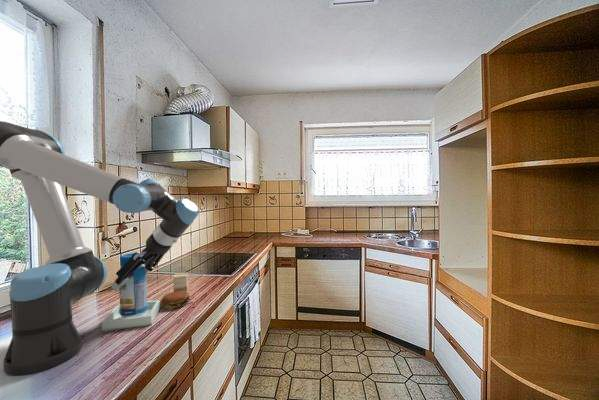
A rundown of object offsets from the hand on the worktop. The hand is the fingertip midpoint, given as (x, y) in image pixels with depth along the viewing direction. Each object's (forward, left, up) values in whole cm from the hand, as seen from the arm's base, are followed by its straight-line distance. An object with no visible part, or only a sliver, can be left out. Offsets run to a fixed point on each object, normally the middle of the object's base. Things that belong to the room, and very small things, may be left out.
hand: (125, 284), depth 95 cm
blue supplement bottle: (-2, -3, -10) cm, 10 cm away
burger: (+7, -15, -12) cm, 20 cm away
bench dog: (+16, -16, -12) cm, 25 cm away
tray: (-2, -3, -12) cm, 12 cm away
